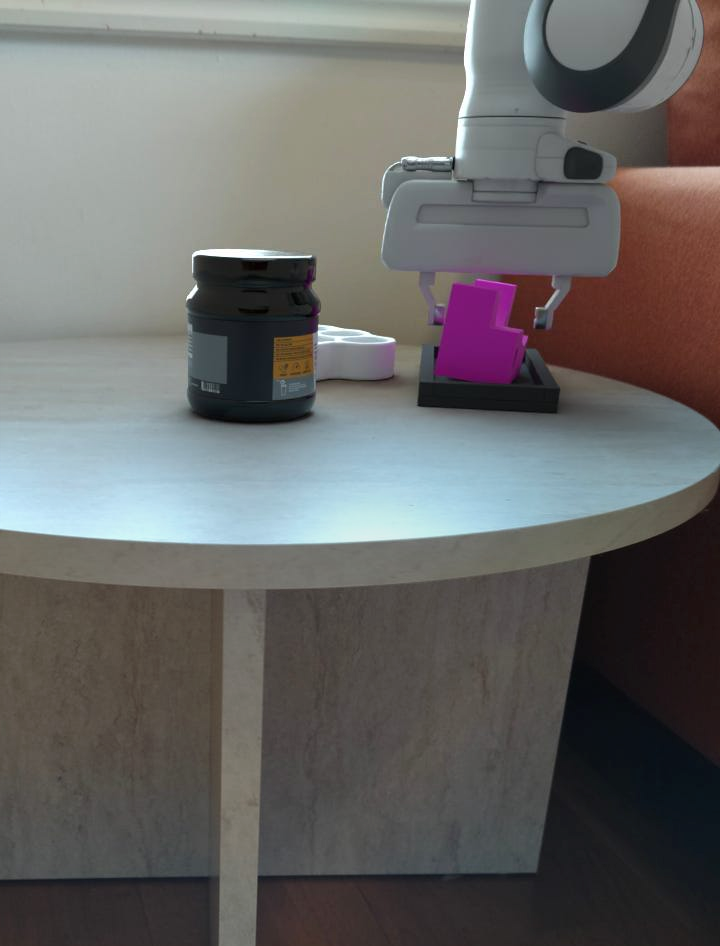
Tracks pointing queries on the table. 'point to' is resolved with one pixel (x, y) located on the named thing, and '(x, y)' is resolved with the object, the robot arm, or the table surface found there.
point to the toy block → (481, 334)
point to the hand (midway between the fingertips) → (488, 327)
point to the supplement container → (252, 334)
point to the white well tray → (353, 355)
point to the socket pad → (489, 387)
